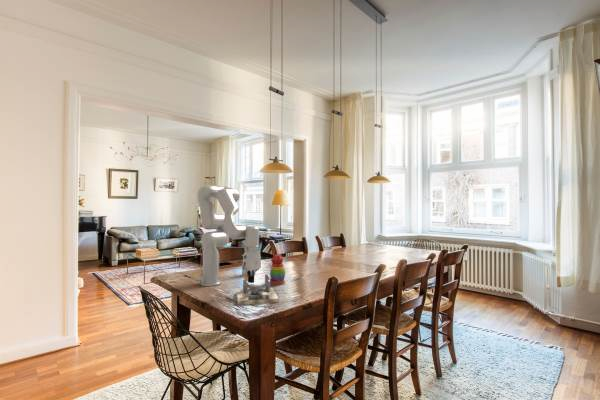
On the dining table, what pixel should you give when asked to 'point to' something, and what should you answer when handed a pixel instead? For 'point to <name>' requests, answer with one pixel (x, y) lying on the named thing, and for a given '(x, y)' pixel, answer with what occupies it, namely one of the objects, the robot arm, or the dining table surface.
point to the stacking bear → (277, 271)
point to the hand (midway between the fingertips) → (251, 282)
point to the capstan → (256, 286)
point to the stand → (256, 297)
